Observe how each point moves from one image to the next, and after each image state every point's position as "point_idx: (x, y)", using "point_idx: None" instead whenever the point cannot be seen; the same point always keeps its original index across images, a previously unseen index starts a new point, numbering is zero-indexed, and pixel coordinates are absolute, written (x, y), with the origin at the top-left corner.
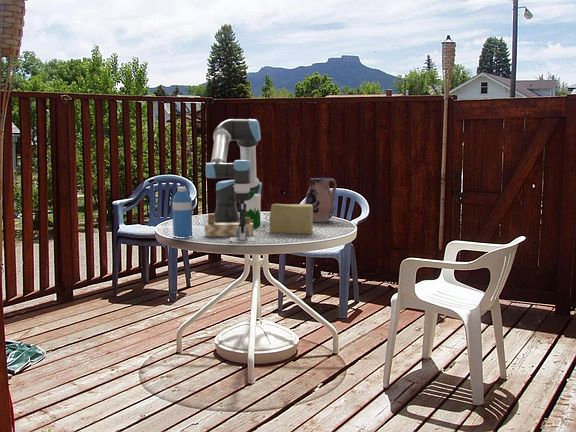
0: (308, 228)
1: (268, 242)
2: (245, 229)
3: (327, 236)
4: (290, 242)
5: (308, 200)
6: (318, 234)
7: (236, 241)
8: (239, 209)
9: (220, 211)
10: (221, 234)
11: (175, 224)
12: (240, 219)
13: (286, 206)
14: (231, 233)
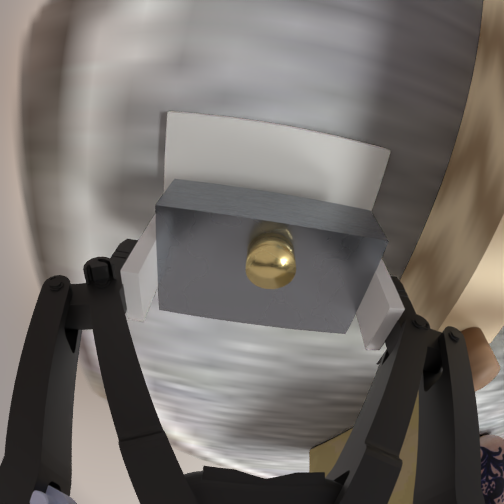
0: (313, 464)
1: (152, 337)
2: (247, 302)
3: (257, 461)
4: (154, 394)
5: (491, 482)
6: (299, 456)
7: (164, 166)
8: (139, 496)
9: None
10: (475, 106)
11: None
12: (29, 333)
13: None
14: (454, 187)
